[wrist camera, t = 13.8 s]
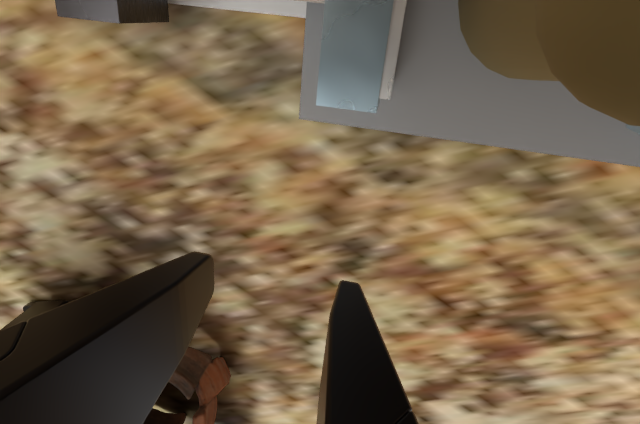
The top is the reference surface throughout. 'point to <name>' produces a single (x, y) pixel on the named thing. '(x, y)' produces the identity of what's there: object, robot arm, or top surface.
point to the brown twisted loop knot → (196, 387)
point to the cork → (563, 47)
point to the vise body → (456, 91)
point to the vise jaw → (336, 45)
